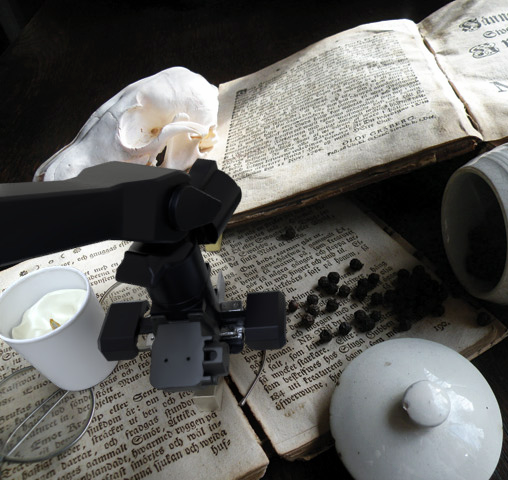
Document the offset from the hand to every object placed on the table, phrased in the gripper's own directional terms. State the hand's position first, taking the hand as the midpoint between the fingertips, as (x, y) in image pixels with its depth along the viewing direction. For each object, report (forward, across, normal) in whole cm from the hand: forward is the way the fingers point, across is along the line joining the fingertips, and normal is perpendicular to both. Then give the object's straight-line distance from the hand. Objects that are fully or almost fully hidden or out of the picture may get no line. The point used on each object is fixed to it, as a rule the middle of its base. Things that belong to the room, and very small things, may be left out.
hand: (213, 364), depth 55 cm
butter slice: (+1, -2, +24) cm, 24 cm away
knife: (+1, 0, +4) cm, 4 cm away
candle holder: (+1, -16, +2) cm, 16 cm away
